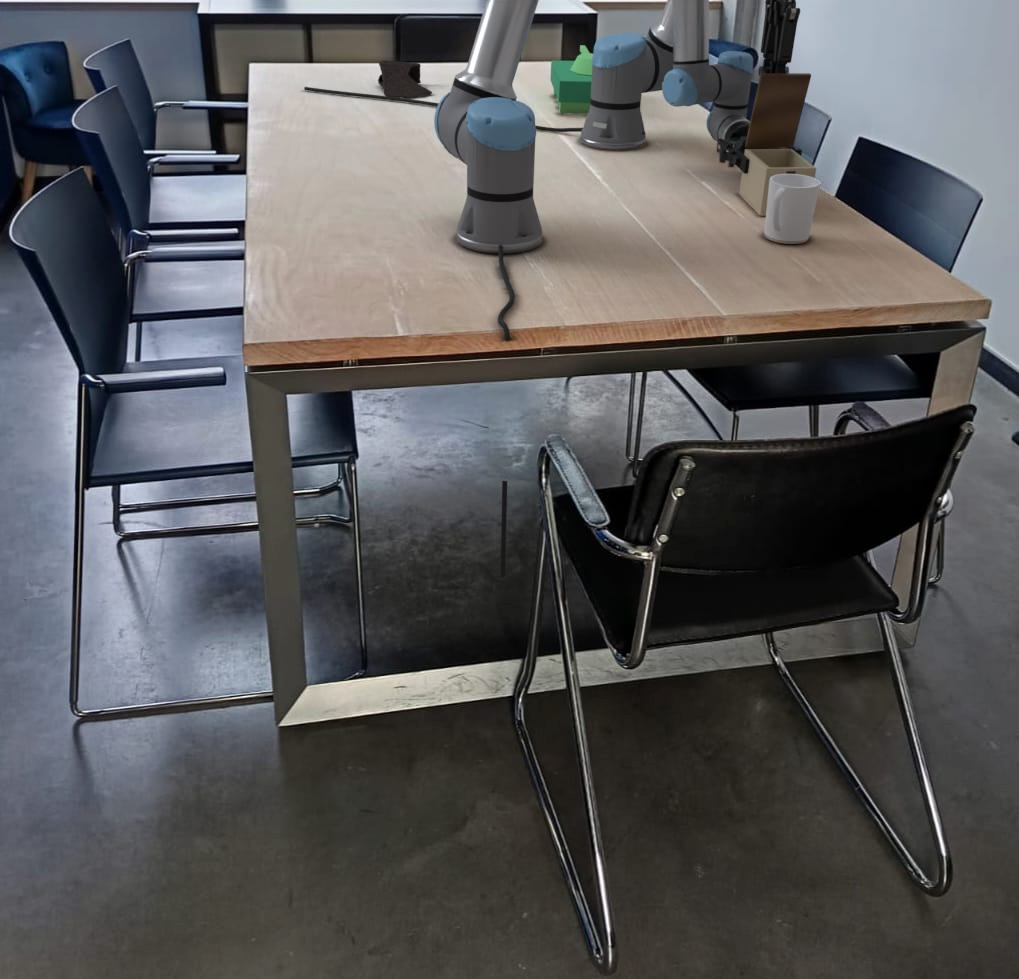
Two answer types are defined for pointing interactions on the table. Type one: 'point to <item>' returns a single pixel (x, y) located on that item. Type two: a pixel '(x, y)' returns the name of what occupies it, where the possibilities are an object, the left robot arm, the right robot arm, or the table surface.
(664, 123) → the table surface
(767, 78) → the lid
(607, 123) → the right robot arm
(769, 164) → the chest
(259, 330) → the table surface
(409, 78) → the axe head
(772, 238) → the mug
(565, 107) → the toy tank
